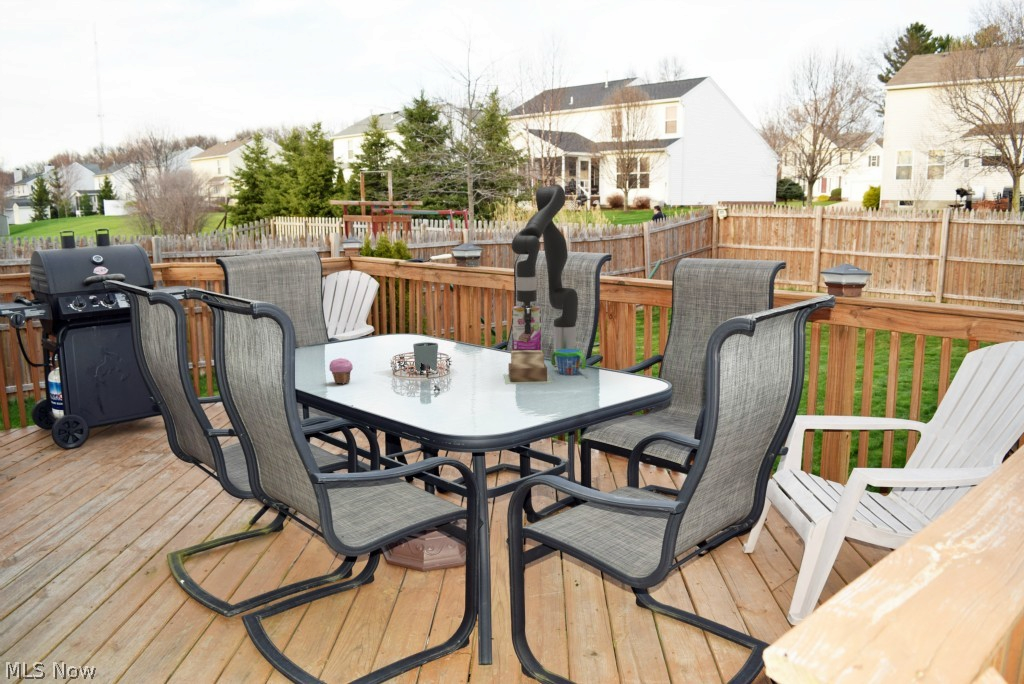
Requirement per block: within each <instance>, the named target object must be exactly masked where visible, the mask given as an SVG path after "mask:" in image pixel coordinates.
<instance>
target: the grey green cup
mask: <svg viewBox="0 0 1024 684" xmlns="http://www.w3.org/2000/svg"><path fill="white" fill-rule="evenodd" d="M424 344H428V345H429V346H421V345H424ZM412 346H413V353H414V362H415V364H414V366H415V371H416V370H417V371H420V367H421V363H422V364H428V365H429V366H430V368H431V369H432V370H436V369H437V370H438V352H439V351H438V350H439V344H438V343H437V342H426V341H425V342H417V343H413V345H412Z"/></svg>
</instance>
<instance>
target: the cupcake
mask: <svg viewBox="0 0 1024 684" xmlns="http://www.w3.org/2000/svg"><path fill="white" fill-rule="evenodd" d="M353 366H354V365H353V364H352V362H351V361H350V360H349V359H347V358H342V357H339V358H335V359H333V360H331V361H330V363H329V371H330V372H331V375H332V377H333V380H334V383H335V384H336V383H346V384H348V383H349V382H350V380H351V371H353ZM347 382H348V383H347Z"/></svg>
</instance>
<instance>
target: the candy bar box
mask: <svg viewBox="0 0 1024 684" xmlns="http://www.w3.org/2000/svg"><path fill="white" fill-rule="evenodd" d="M531 309H532V310H531V314H532V318H531V321H532V322H531V334H525V324H524V318H523V311H524V308H522V307H521V306H518V305H516V306H513V307H512V308H511V318H512V319H511V322H512V324H511V326H512V327H511V328H512V329H511V330H512V331H511V332H512V333H511V334H512V337H511V339H512V342H511V343H512V344H511V345H512V346H511V347H512V348H511V349H512V350H511V351H535V350H542V347H543V343H542V342H543V337H542V336H543V335H542V333H543V332H542V330H543V328H542V327H543V324H542V323H543V321H542V320H543V315H542V314H543V311H542V310H543V308H542V306H532V308H531ZM522 310H523V311H522ZM524 315H525V313H524ZM526 320H529V318H526Z"/></svg>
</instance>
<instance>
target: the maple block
mask: <svg viewBox="0 0 1024 684" xmlns="http://www.w3.org/2000/svg"><path fill="white" fill-rule="evenodd" d="M510 363H511V365H512V368H513V369H519V368H544V363H545V353H544V352H543V350H542V349H541V350H510Z"/></svg>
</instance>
